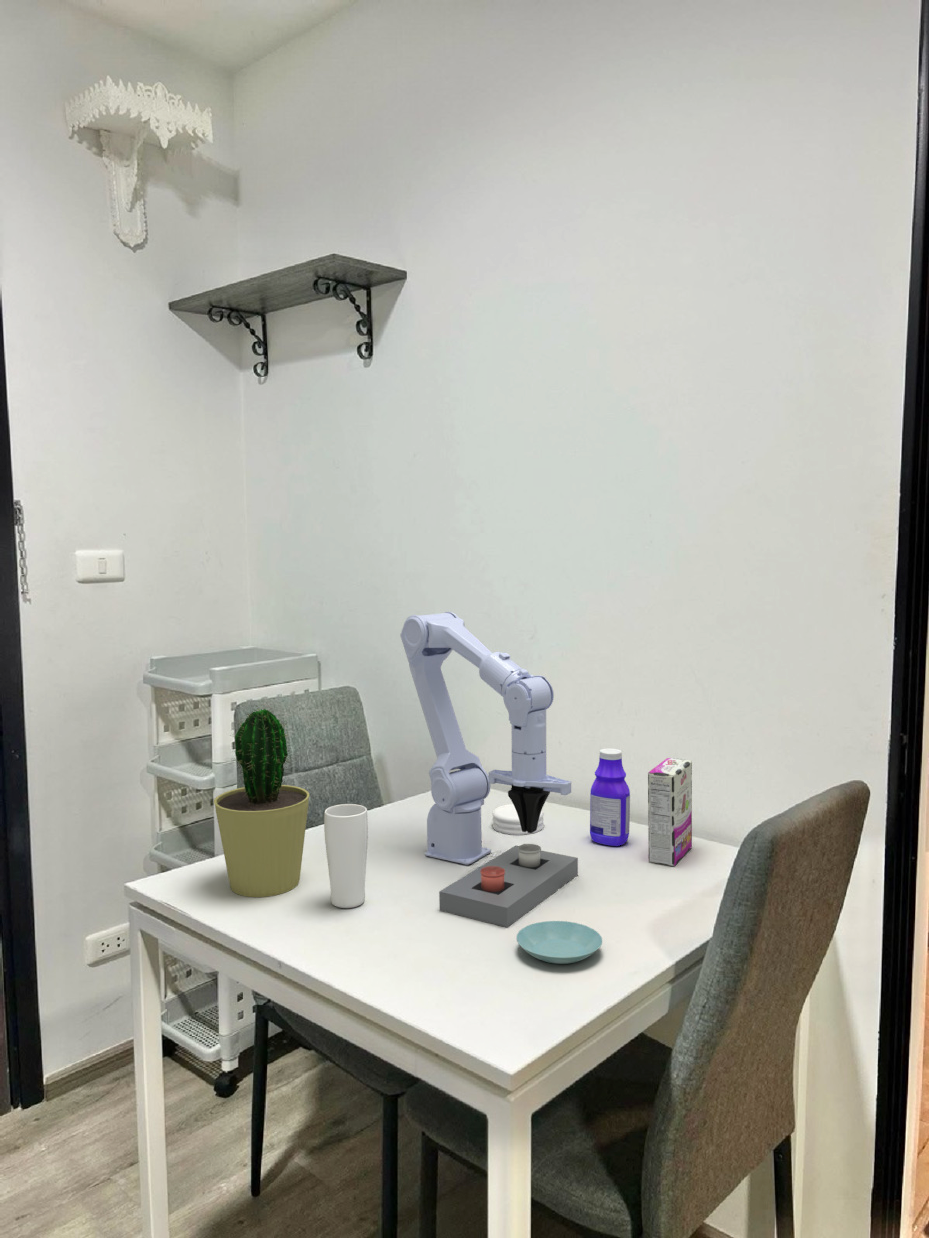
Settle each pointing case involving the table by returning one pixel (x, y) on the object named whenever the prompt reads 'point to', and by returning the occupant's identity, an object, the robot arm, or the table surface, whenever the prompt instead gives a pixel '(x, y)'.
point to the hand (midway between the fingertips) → (529, 830)
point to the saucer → (559, 941)
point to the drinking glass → (346, 853)
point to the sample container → (529, 855)
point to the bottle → (610, 801)
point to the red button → (492, 878)
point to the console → (508, 888)
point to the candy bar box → (670, 811)
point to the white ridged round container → (511, 821)
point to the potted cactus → (262, 813)
